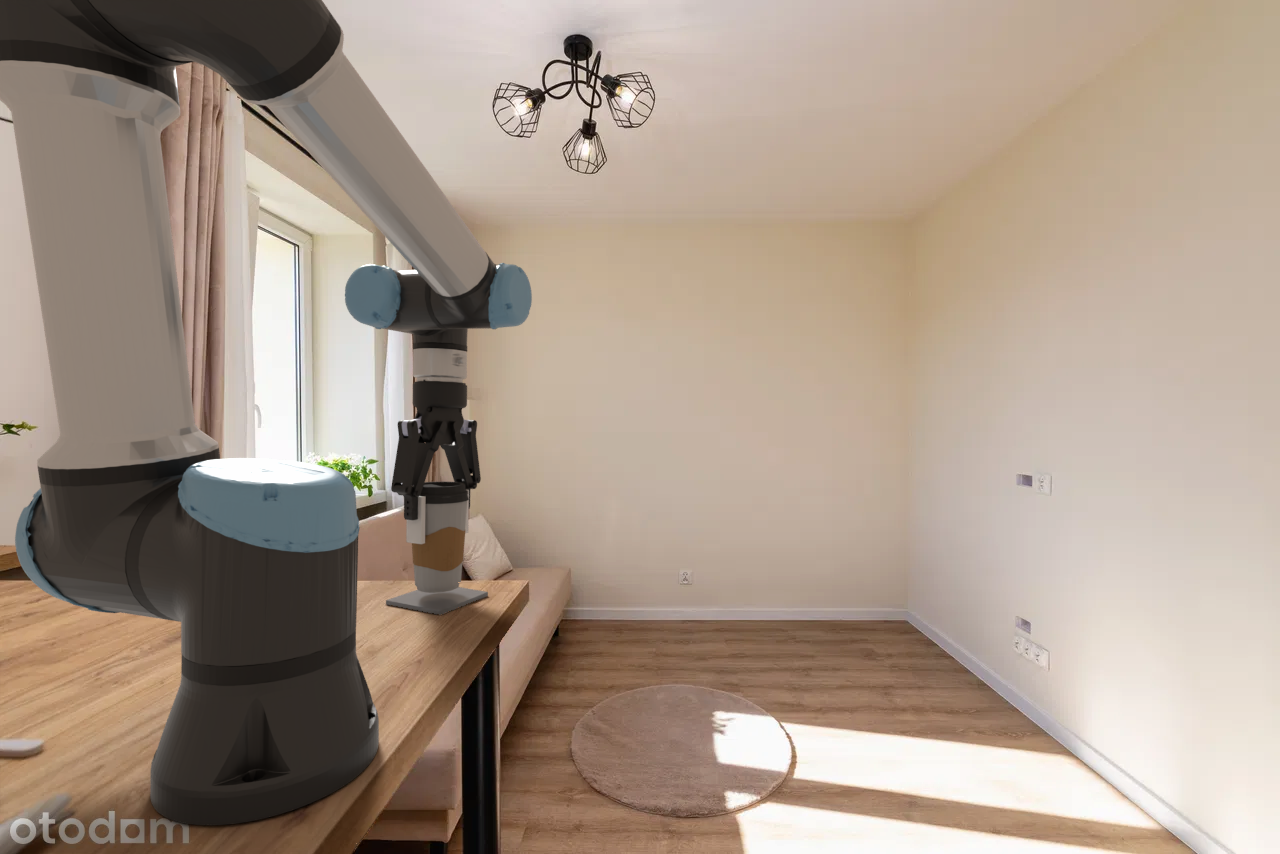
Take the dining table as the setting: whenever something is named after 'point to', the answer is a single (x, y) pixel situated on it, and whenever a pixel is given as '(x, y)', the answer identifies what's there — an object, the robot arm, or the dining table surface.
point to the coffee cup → (441, 538)
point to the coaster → (437, 600)
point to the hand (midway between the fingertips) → (438, 537)
